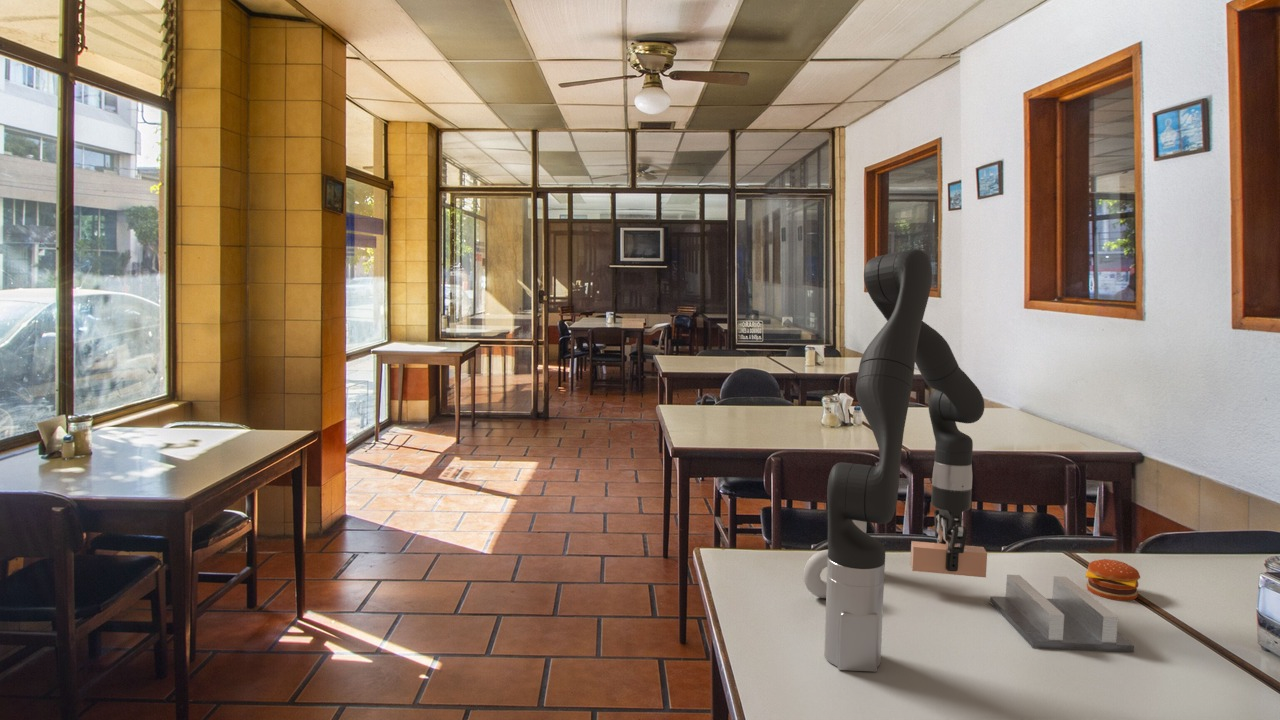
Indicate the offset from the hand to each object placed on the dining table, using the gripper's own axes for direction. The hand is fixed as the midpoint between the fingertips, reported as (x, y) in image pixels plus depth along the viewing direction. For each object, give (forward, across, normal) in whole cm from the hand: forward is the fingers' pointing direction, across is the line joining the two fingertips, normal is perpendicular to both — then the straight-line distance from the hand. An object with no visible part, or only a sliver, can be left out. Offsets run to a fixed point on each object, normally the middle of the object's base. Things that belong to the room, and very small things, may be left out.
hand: (947, 566), depth 161 cm
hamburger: (+6, +5, -35) cm, 36 cm away
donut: (+6, -5, +25) cm, 26 cm away
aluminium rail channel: (+6, -13, -16) cm, 22 cm away
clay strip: (+1, 0, 0) cm, 1 cm away
